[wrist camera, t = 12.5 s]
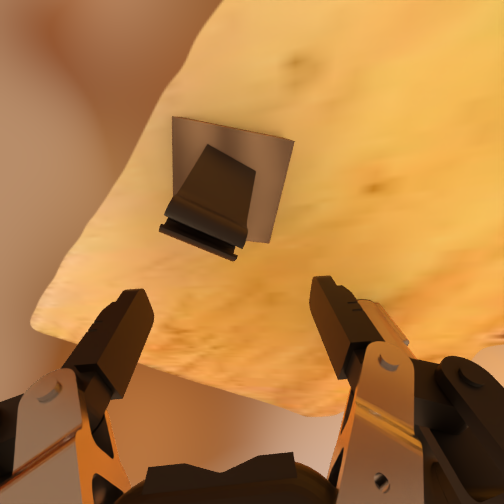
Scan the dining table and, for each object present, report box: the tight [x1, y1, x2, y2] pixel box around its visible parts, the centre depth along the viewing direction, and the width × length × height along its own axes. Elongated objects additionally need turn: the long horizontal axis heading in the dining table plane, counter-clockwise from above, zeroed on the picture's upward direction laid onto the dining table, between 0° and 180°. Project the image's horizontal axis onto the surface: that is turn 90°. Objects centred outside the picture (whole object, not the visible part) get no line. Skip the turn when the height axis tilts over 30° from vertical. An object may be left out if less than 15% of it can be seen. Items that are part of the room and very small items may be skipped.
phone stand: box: [159, 144, 256, 261], centre depth 20 cm, size 9×6×12 cm, turn 151°
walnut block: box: [172, 116, 295, 243], centre depth 28 cm, size 13×13×6 cm
